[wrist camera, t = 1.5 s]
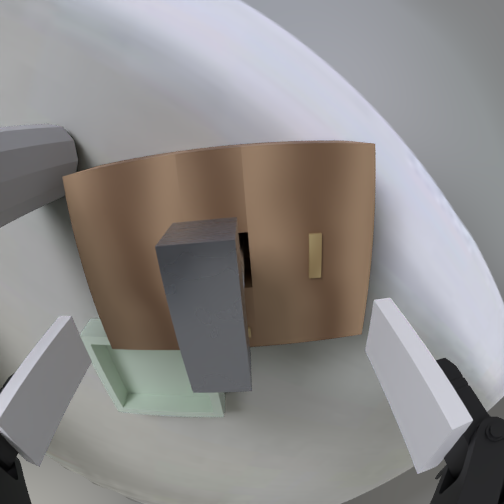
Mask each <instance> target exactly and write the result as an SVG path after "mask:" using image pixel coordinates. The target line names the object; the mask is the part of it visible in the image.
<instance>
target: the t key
mask: <svg viewBox="0 0 504 504" xmlns="http://www.w3.org/2000/svg"><path fill="white" fill-rule="evenodd" d="M155 249H156V254H157V259H158V264H159V268H160V273H161V277H162V282H163V286H164V290H165V295H166V299H167V303H168V307H169V311H170V315H171V319H172V323H173V326H174V330H175V334H176V337H177V341H178V345H179V348H180V352H181V355H182V358H183V362H184V365H185V368H186V372H187V375H188V378H189V381H190V384H191V388H192V391H193V393H217V392H242V391H252V381H251V354H250V344H249V334H248V325H247V315H246V305H245V296H244V233H243V232H242V233H238V224H237V217H231V218H220V219H209V220H198V221H188V222H178V223H172V224H171V226H170V227H169V228H168V230H167V231H166V232H165V234H164V235H163V236H162V238H161V239H160V240H159V242H158V243H157V245H156V246H155Z"/></svg>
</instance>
